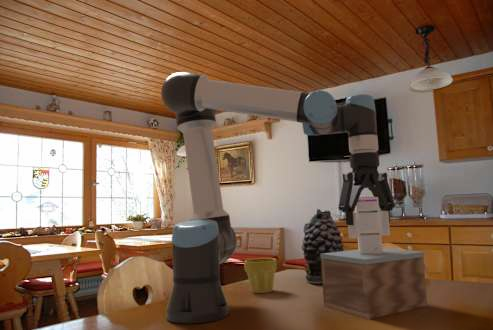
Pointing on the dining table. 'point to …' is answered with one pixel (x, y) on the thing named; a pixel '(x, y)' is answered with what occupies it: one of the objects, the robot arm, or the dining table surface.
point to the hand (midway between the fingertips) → (369, 236)
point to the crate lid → (372, 256)
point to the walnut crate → (374, 287)
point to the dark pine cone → (319, 243)
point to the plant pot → (261, 274)
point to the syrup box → (369, 226)
